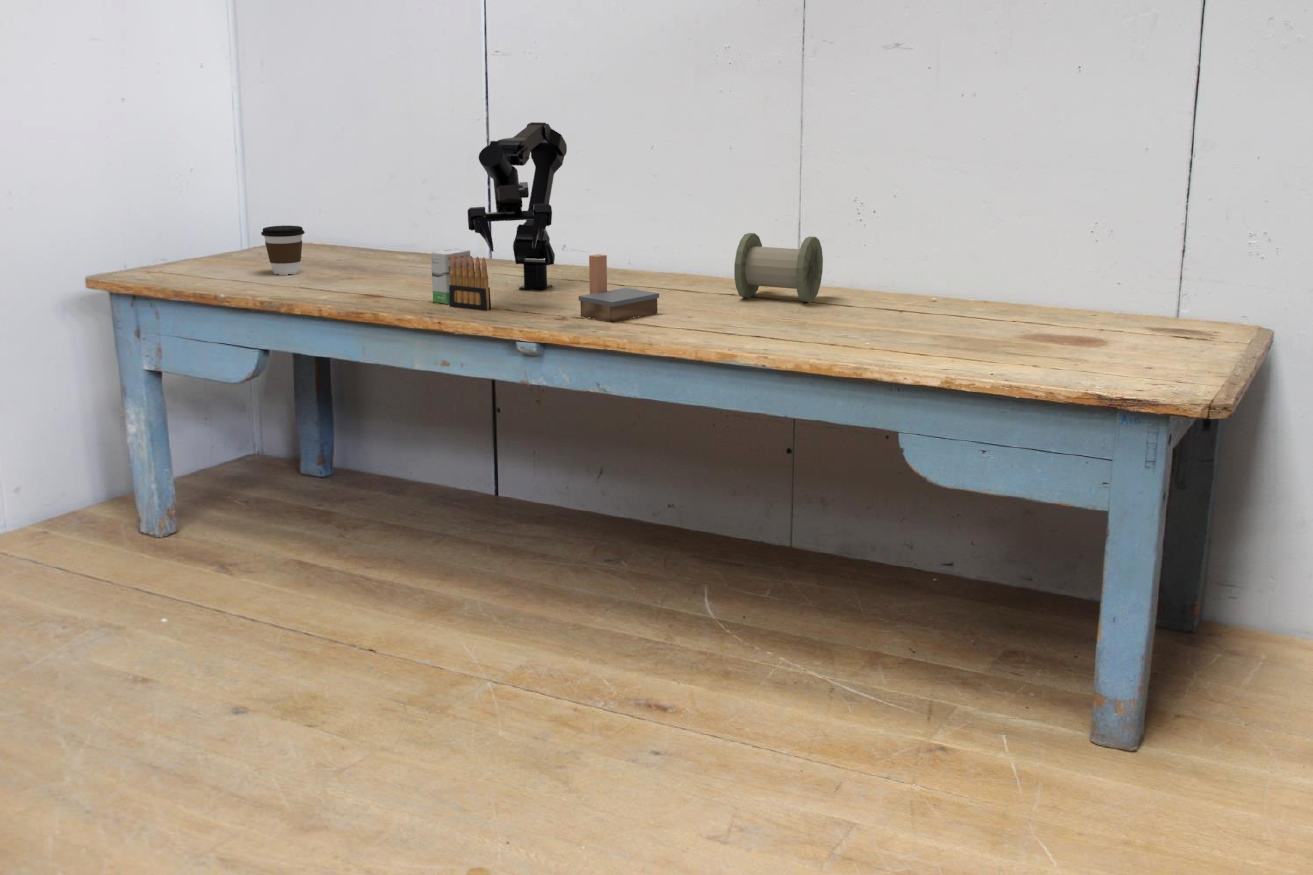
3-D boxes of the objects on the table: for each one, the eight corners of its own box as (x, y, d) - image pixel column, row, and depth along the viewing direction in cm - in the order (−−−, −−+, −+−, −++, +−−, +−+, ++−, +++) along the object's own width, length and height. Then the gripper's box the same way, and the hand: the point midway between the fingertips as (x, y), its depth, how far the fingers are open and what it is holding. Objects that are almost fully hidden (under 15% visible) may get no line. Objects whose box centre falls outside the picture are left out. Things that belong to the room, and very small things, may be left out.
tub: (580, 316, 285) (580, 300, 284) (625, 307, 295) (625, 292, 294) (612, 322, 279) (612, 306, 278) (657, 313, 288) (657, 297, 287)
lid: (570, 299, 286) (569, 258, 283) (617, 290, 296) (617, 251, 293) (612, 306, 277) (612, 264, 275) (659, 297, 287) (659, 257, 285)
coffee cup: (316, 272, 343) (313, 227, 340) (284, 278, 334) (280, 231, 331) (287, 269, 349) (284, 224, 346) (255, 274, 340) (251, 228, 337)
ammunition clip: (491, 309, 293) (489, 256, 289) (486, 311, 291) (484, 258, 288) (454, 305, 298) (451, 253, 295) (449, 306, 296) (446, 254, 293)
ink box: (447, 304, 299) (444, 253, 295) (431, 302, 302) (429, 251, 298) (473, 299, 305) (471, 249, 302) (458, 297, 308) (455, 247, 305)
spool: (821, 296, 308) (823, 233, 304) (801, 307, 295) (803, 241, 291) (756, 291, 315) (757, 230, 311) (733, 302, 302) (734, 237, 298)
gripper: (464, 171, 285) (470, 233, 279) (549, 167, 288) (556, 228, 282) (465, 199, 295) (471, 259, 290) (547, 194, 298) (554, 254, 293)
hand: (513, 249), depth 288 cm, fingers open, 9 cm apart
